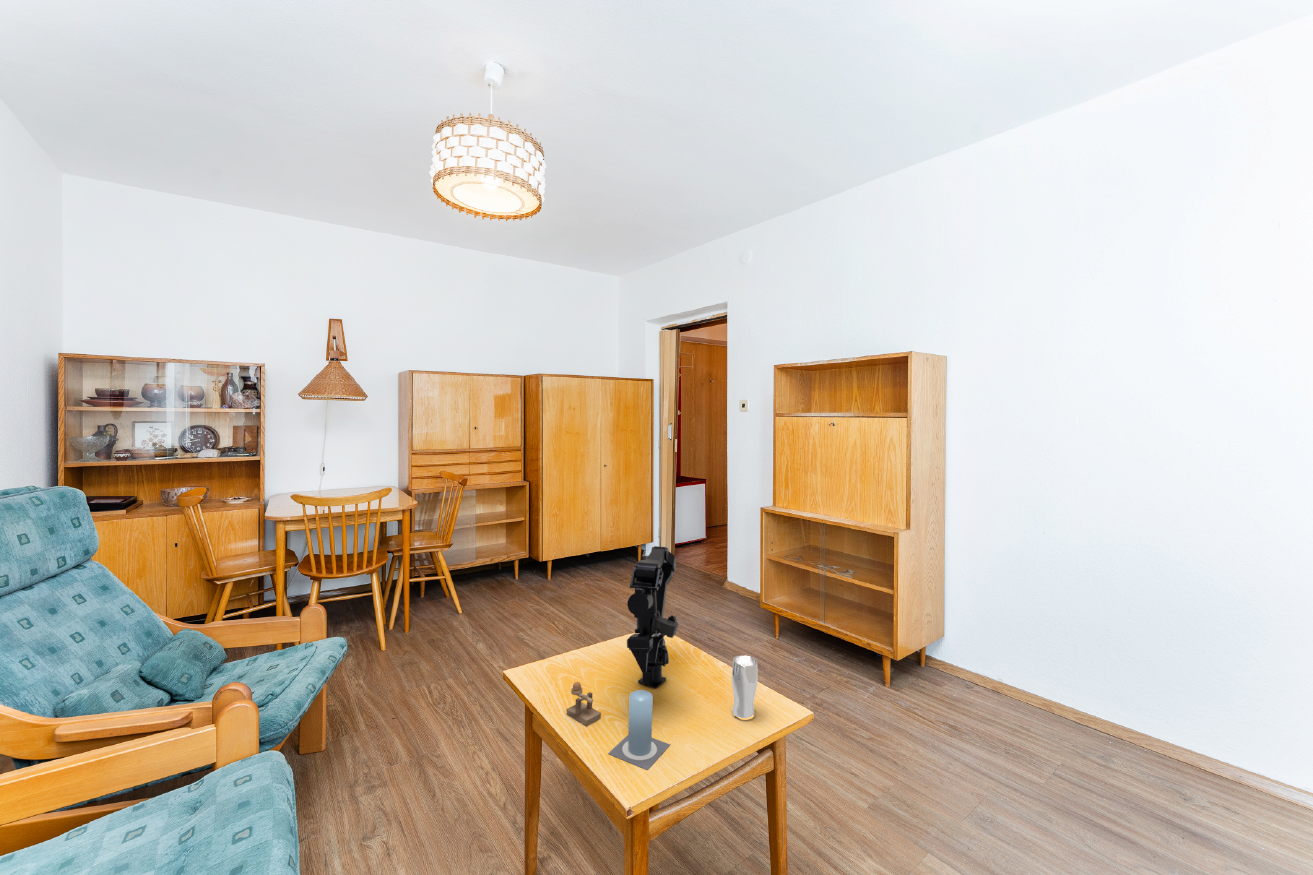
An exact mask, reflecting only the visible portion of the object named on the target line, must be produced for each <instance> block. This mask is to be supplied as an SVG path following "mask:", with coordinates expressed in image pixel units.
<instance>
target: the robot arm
mask: <svg viewBox="0 0 1313 875" xmlns="http://www.w3.org/2000/svg"><path fill="white" fill-rule="evenodd" d="M676 571H677V557H676V556H675V554H673V553H672V552H670V550H669V548H668V547H667V546H657V545H654V546H652V547H651V551H650V552H649V554H648V556H647V557H646V558H645V559H641V560H638V561H637V562H636V564H635V565H634V566H633V569H632V574H631V578H630V583H629V588H630V589H634V593H633V594H631V595H630V596H629V598H628V599H627V603H626V604H627V609H628V611H629V612H630V613H631V614H632V615H633V616H634V618H635V619H636V628H635V629H634V633H633V634H632V635H630V636H629V637H628V638H627V639H626V648H628V650H629V651H630V653H631V654H632V656H633V657H634V659H635V661H636V663H637V666H638V668H639V669H640V671H641V674H642V675H641V676H642V677H641V678H640V679H638V681H637V683H638V684H640V685H645V686H646V687H647V686H648V687H650V688H654V689H658V688H659V687H660V686H661V685H662V684H663V683H665V681H667V677H664V676H663V667H666V665H669V662H670V661H669V659H670V658H669V657H670V656H669V651H668V648H667V645H666V640H665V637H668V638H669V639H672V638H674V637H675V636H676V634H677V630H678V629H679V622H677V616H675V615H673V614H671V615H669V616H668V618H667V617H664V614H665V605H666V599H667V598H666V595H667V590H668V585H669V584H670V582H671V581H672V580H673V578H674V573H675V572H676Z"/></svg>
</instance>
